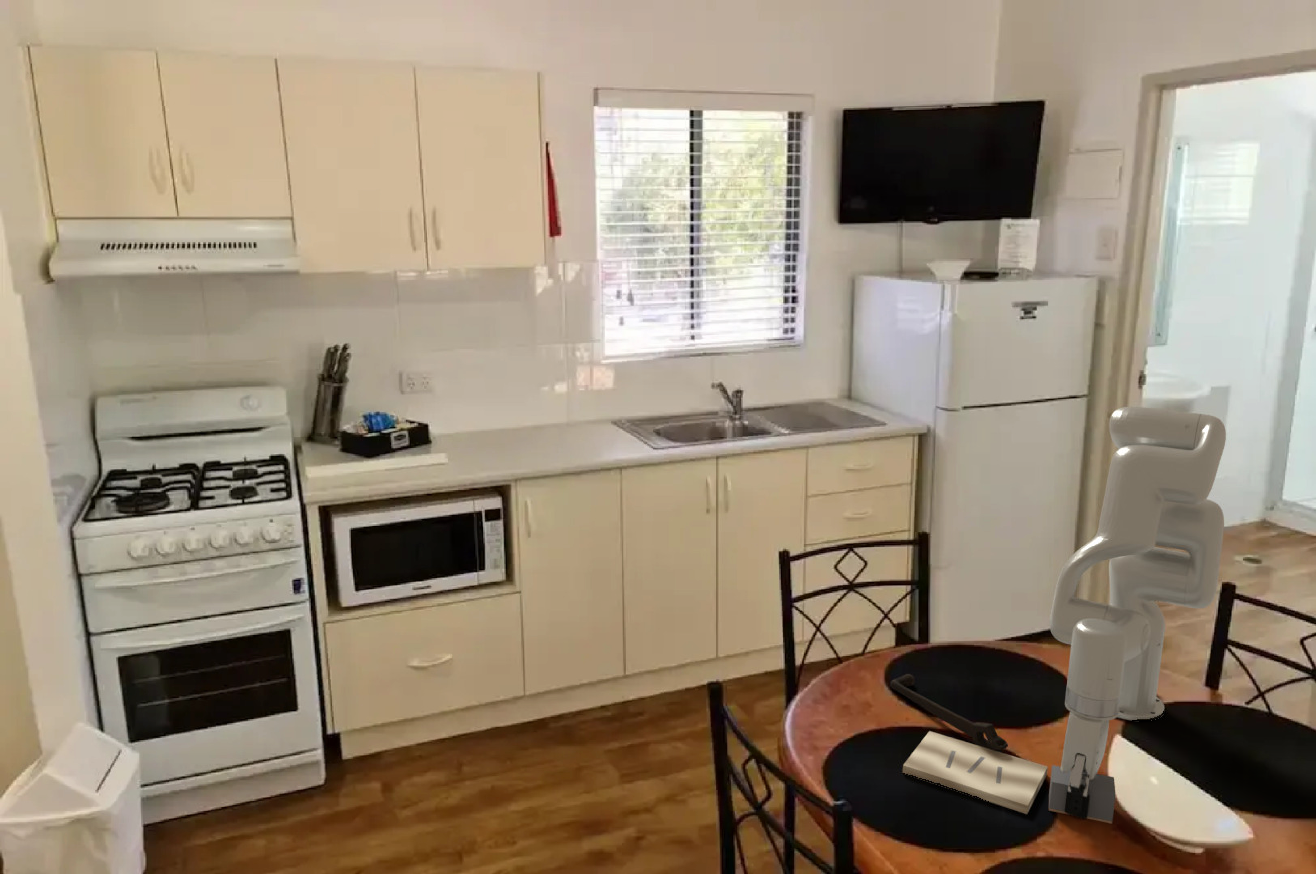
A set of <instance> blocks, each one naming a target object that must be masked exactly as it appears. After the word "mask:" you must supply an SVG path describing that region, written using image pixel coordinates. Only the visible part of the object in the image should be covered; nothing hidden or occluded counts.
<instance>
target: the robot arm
mask: <svg viewBox="0 0 1316 874" xmlns="http://www.w3.org/2000/svg"><path fill="white" fill-rule="evenodd" d="M1108 425H1109V426H1108V428H1109V429H1108V430H1109V435H1110V438H1111V441H1112V444H1113V445H1114V446H1115V447H1116V448H1117V450H1116V451H1115V452H1114V453H1113V455H1112V458H1111V460H1110V466H1109V469H1108V473H1107V474H1108V475H1107V480H1106V484H1105V491H1104V497H1103V501H1102V506H1101V511H1100V516H1099V522H1098V528H1097V532H1096V534H1095V536H1094V537H1093V538H1092V539H1091V540H1090V541H1088V542H1087V543H1086V544H1084V545H1083V546H1081V547H1080V548H1078V550H1076V551H1075V552H1074V553H1073V554H1072V555H1071V556H1070V557H1069V559H1068V560H1067V561H1066V562H1065V564H1064V565H1063V567H1062V569H1061V571H1060V573H1059V575H1058V579H1057V581H1056V586H1055V591H1054V596H1053V601H1052V605H1051V609H1050V610H1051V611H1050V616H1049V617H1050V618H1049V629H1050V632H1051V634H1052V636H1053V637H1054V639H1056V640H1057V641H1059V642H1061V643H1063V644H1065V645H1066V644H1067V645H1070V654H1069V661H1068V672H1067V682H1066V683H1067V684H1066V688H1065V689H1066V690H1065V699H1064V706H1065V708H1066V710H1068V711H1069V716H1068V719H1067V725H1066V729H1065V731H1066V732H1065V736H1064V743H1063V751H1062V756H1061V757H1062V758H1061V763H1060V767H1061V771H1062V772H1063V773H1068V772H1069V771H1070V769H1071V773H1070V779H1069V785H1068V789H1067V795H1066V804H1065V812H1066V813H1067V814H1066V815H1069V814H1070V816H1073V817H1077V818H1079V819H1083V820H1086V819H1088V818H1087V816H1088V808H1089V800H1090V795H1088V791H1089V785H1090V780H1093V779H1094V778H1095V776H1096V774H1098V771H1099V769H1100V766H1101V765H1102V761H1103V759H1104V756H1105V751H1106V746H1107V742H1108V735H1109V727H1110V726H1109V725H1110V721H1112V720H1114V719H1117V718H1118V719H1121V720H1127V721H1132V720H1137V719H1150V718H1154V717H1157V716H1159V715H1161V714H1162V713H1163V711H1164V712H1165V705H1164V703H1163V701H1162V700H1161V699H1160V698H1159V697H1158V696H1157V694H1158V693H1157V692H1158V687H1159V686H1158V685H1159V679H1160V678H1159V677H1160V671H1161V665H1162V655H1163V647H1164V640H1165V632H1166V621H1165V616H1164V613H1163V612H1162V610H1161V608H1160V606H1159V605H1158V603H1157V602H1162V603H1165V604H1166V603H1167V604H1171V605H1176V606H1180V607H1185V608H1192V609H1204V608H1207V607H1209V606H1210V605H1212V602H1214V600H1215V596H1216V594H1217V589H1218V582H1219V575H1220V574H1219V573H1220V566H1221V557H1222V549H1223V542H1224V530H1225V517H1224V512H1223V509H1222V508H1221V506H1220V505H1219V504H1218V503H1217V502H1216V501H1213V500H1210V499H1208V497H1209V495H1210V493H1211V491H1212V489H1213V486H1214V483H1215V480H1216V477H1217V473H1218V469H1219V465H1220V463H1221V462H1220V461H1221V460H1222V457H1223V453H1224V449H1225V446H1226V441H1227V440H1226V439H1227V438H1226V436H1227V432H1226V431H1227V430H1226V427H1225V424H1224V422H1223V421H1222V420H1221V419H1220V418H1219V417H1216V416H1213V415H1210V414H1202V413H1198V412H1197V413H1194V412H1185V411H1176V410H1169V409H1163V408H1162V409H1159V408H1152V407H1151V408H1150V407H1139V406H1124V407H1119V408H1117V409H1115V410H1114V411H1113V412H1112V414H1111V415H1110V419H1109V423H1108ZM1163 547H1165V548H1163ZM1168 548H1169V549H1168ZM1174 549H1175V550H1174ZM1179 550H1181V551H1179ZM1184 551H1185V552H1184ZM1108 560H1109V563H1108V578H1109V579H1108V580H1109V604H1107V603H1102V602H1098V601H1094V600H1089V599H1084V598H1079V597H1075V595H1076V591H1077V587H1078V584H1079V582H1080V579H1081V578H1082V576H1083V575H1084V574H1085V572H1086V571H1088V570H1089V569H1090V568H1091V567H1093V566H1095V565H1097V564H1099V563H1101V562H1104V561H1108ZM1083 771H1085V772H1087V774H1088V775H1085V774H1083ZM1082 779H1084V780H1085V786H1084V785H1083V784H1081V780H1082Z"/></svg>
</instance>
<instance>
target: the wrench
mask: <svg viewBox="0 0 1316 874" xmlns="http://www.w3.org/2000/svg"><path fill="white" fill-rule="evenodd" d="M915 679H916V678H915V677H914V675H912V674H910V673H905V674H904V675H902V676H900V677H897V678H894V679H892V680H891V681H890V686H891V688H892V689H893V690H894V691H896V692H898V693H900V695H903V696H905V698H908V699H909V700H911V701H912V702H914V703H916V704H917V705H918V706H921V707H922V709H923V708H924V709H925V710H926V711H928V712H929V713H931V714H933V715H934V716H936V717H938V718H939V719H940V720H942V721H944V722H946V723H947V724H949V725H950V726H952V727H954V728H955V729H957V730H959V731H960V732H962V733H964V734H965V735H967V736H969V737H970V738H972V741H973V742H972V743H974V745H977V746H981V747H984V748H987V749H991V750H994V751H996V750H997V751H1001V750H1002V751H1003V750H1005V749H1006V748H1008V746H1009V744H1008V742H1007V741H1006V739H1004V738H1003V737H1001V736H999V735H998V733H997V731H996V729H995V727H994V724H993V723H989V722H983V721H978V722H972V721H970V720H969V719H967V718H965V717H963V716H962V715H959V714H957V713H955V712H954V711H951V710H950V709H948V708H946V707H943V706H941V705H939V704H938V703H937V702H934V701H932V700H930V699H929V698H927V697H925V696H923V695H921V694H919V693H917V692H915V691H913V690H912V689H910V688H907V687H912V686H913V685H914V684H915V682H916V681H915ZM985 737H986V738H985Z"/></svg>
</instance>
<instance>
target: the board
mask: <svg viewBox="0 0 1316 874" xmlns="http://www.w3.org/2000/svg"><path fill="white" fill-rule="evenodd" d="M1048 768H1049V767H1048V766H1047V765H1044V764H1040V763H1037V762H1034V761H1030V760H1027V759H1024V758H1021V757H1016V756H1014V755H1010V754H1007V753H1003V752H1000V751H998V750H997V751H996V750H991V749H987V748H984V747H981V746H978V745H976V744H975V743H974V744H973V743H970V742H966V741H965V740H961V739H957V738H954V737H950V736H947V735H944V734H941V733H937V732H934V731H931V730H929V731H928V732H927V734H926V735H925V736H924V737H923V738H922V740H921V742H920V743H919V744H918V745H917V746H916V748H915V749H914V750H913V752H911V754H910V756H909V757H908V758H907V759H906V761H905V762H904V763H903V765H902V774H903V773H905V774H904V775H906V774H908V775H907V776H909V775H913V776H916V777H918V778H917V779H919V778H922V779H926V780H929V781H932V782H934V783H940V784H941V785H944V786H947V787H949V788H953V789H956V790H958V791H962V792H965V793H968V794H970V795H972V796H971V797H973V796H977V797H979V798H981V799H980V800H982V799H983V801H985V800H986V801H985V802H988V801H989V803H992V804H993V805H994V804H995V805H998V806H1001V807H1004V808H1007V809H1010V810H1014V811H1017V812H1018V813H1022V814H1025V815H1028V813H1029V811H1030V809H1031V807H1032V806H1033V804H1034V801H1035V799H1036V798H1037V796H1038V793H1039V791H1040V789H1041V788H1042V786H1043V784H1044V781H1045V779H1046V778H1047V776H1048ZM922 779H921V780H922ZM934 783H933V784H934ZM949 788H948V789H949ZM958 791H957V792H958ZM970 795H969V796H970ZM979 798H978V799H979Z"/></svg>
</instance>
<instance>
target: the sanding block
mask: <svg viewBox="0 0 1316 874" xmlns="http://www.w3.org/2000/svg"><path fill="white" fill-rule="evenodd" d="M1070 773H1071V769H1070V771H1069V772H1068V773H1063V772H1062V771H1061V766H1058V765H1054V764H1052V765H1051V773H1050V781H1049V783H1050V784H1049V791H1048V792H1049V793H1048V811H1050V812H1055V813H1061V814H1066V815H1070V814H1067V813H1066V812H1065V804H1066V795H1067V789H1068V785H1069V779H1070ZM1083 774H1085V775H1088V774H1087V772H1085V771H1083ZM1081 784H1083V785H1084V786H1085V780H1084V779H1082V780H1081ZM1088 795H1090V800H1089V808H1088V816H1087V818H1086V819H1089V820H1093V821H1098V822H1103V823H1107V824H1113V819H1114V811H1115V802H1116V796H1117V795H1116V784H1115V777H1114V776H1110V775H1105V774H1101V773H1097V774H1096V776H1095V778H1094V779H1093V780H1090V785H1089V791H1088ZM1070 816H1071V815H1070Z"/></svg>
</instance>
